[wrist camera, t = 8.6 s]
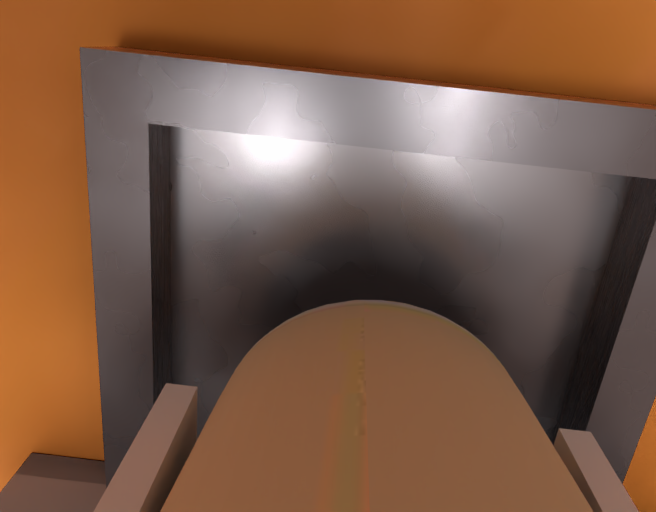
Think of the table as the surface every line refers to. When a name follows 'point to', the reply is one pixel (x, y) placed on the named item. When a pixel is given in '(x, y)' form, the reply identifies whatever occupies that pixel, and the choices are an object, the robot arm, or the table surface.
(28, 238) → the table surface
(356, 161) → the plate
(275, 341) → the coffee cup
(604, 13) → the table surface
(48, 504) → the wall board
